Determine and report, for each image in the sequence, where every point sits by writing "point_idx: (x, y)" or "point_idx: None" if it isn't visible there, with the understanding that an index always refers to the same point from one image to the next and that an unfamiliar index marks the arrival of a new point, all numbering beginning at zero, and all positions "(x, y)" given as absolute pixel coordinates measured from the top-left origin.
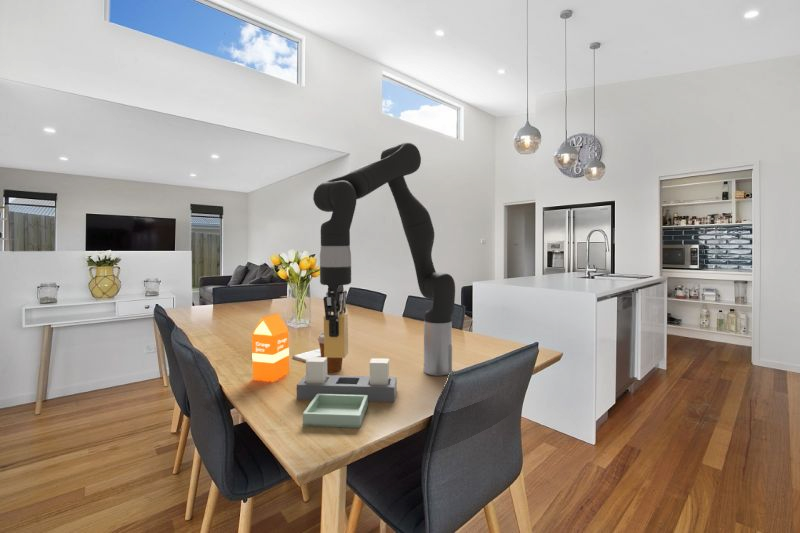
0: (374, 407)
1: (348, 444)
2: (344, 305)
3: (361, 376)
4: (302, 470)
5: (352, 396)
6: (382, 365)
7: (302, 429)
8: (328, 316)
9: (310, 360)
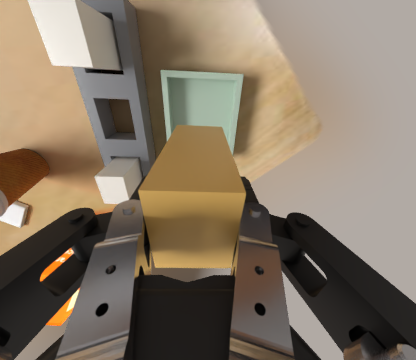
0: (167, 56)
1: (281, 86)
2: (126, 255)
3: (84, 95)
4: (321, 130)
5: (168, 101)
6: (84, 21)
7: (237, 153)
8: (304, 256)
9: (122, 198)
